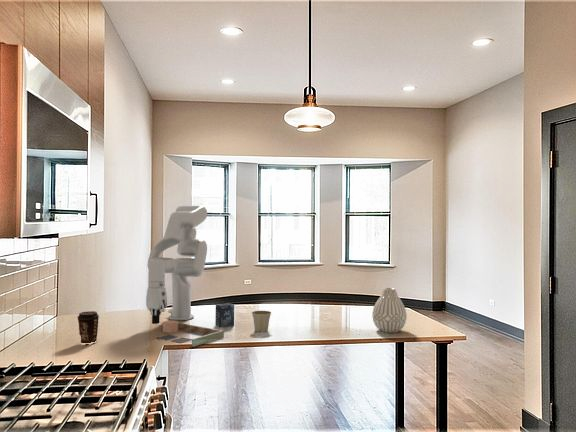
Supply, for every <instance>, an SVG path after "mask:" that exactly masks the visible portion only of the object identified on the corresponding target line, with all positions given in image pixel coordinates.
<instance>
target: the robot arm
mask: <svg viewBox="0 0 576 432" xmlns="http://www.w3.org/2000/svg"><path fill="white" fill-rule="evenodd" d="M207 216H208V211H207V208H206V207H205V206H204V205H180V206H177V207H176V209H175V211H173V212H172V213H171V214H170V216H169V218H168V222H167V225H166V229H165V232H164V236H163V237H162V238H161V239H160V240H158V242H156V243H155V245H154V246H153V247H152V249H151V250H150V253H149V256H148V259H147V270H148V272H147V273H148V280H147V283H148V285H147V289H146V296H145V297H146V300H145V303H146V304H145V306H146V308H147V310H148V311H149V312H150V315H151V324H152V325H156V324H157V325H158V324H160V316H161V315H162V313H164V312H165V311H166V310H165V309H167V308H168V295H167V289H166V286H165V285H166V283H165V282H166V281H165V274H171V283H172V284H171V285H172V287H171V289H172V291H171V293H172V295H171V297H172V298H171V301H172V302H171V303H172V304H171V308H170V309H168V310H167V313H168V314H170V315H169V317H168V318H169V320H173V321H188V320H189V321H190V320H192V319H194V318H195V316H194V314H192V313H191V308H192V306H191V300H192V299H191V297H192V293H191V290H192V285H191V281H190V279H189V278H191V277H192V278H193V277H194V278H196V277H198V278H199V277H201V276H202V275H203V273H204V270H205V267H206V266H205V265H206V260H207V259H206V258H207V254H208V244H207V241H206V240H205V239H201V238H196V237H197V229H196V228H197V227H198V226H199V225H201V224H202V223H203V222H204V221H206V219H207ZM176 245H177V249H176V252H177V254H178V255H179V256H181V257H179V258H178V257H176V258H173V257H160V256H161V254H162V253H163V252H165V251H166V250H168V249H169V248H173V247H174V246H176ZM188 277H189V278H188Z"/></svg>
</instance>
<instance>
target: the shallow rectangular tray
mask: <svg viewBox="0 0 576 432" xmlns="http://www.w3.org/2000/svg"><path fill="white" fill-rule="evenodd" d="M178 331H184V332H189V333H195V334H200V335H202V336H198V337H195V338H191V339H192V340H191V347H193V348H194V347H197V346H201V345H203V344H208V343H210V342H213V341H217V340H220V339H224V337H225V330H223V329H222V330H221V329H216V328H211V327H206V326H205V327H204V326H199V325H193V324H188V323H181V322H178Z"/></svg>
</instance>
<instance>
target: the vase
mask: <svg viewBox="0 0 576 432" xmlns="http://www.w3.org/2000/svg"><path fill="white" fill-rule="evenodd" d="M371 314H372V315H371V318H372V321H373V323H374V325H375V327H376V328H377V329H378V330H379V331H380V332H382V333H386V334H394V333H399V332H400V331H401V330H402V329H403V328H404V326H405V325H406V323H407V317H408V316H407V311H406V307H405V305H404V303H403V301H402V299H401V298H400V297H399V295H398V293H397V290H396V288H393V287H385V288H383V290H382V293H381V295H380V296H379V298H377V301H376V302H375V304H374V306H373V309H372V312H371Z"/></svg>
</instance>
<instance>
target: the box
mask: <svg viewBox="0 0 576 432" xmlns="http://www.w3.org/2000/svg"><path fill="white" fill-rule="evenodd" d="M214 323H215V326H216V327H217V328H226V327H234V326H235V304H234V303H232V302H231V303H230V302H226V303H219V304H218V303H216V304H215V322H214Z"/></svg>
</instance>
